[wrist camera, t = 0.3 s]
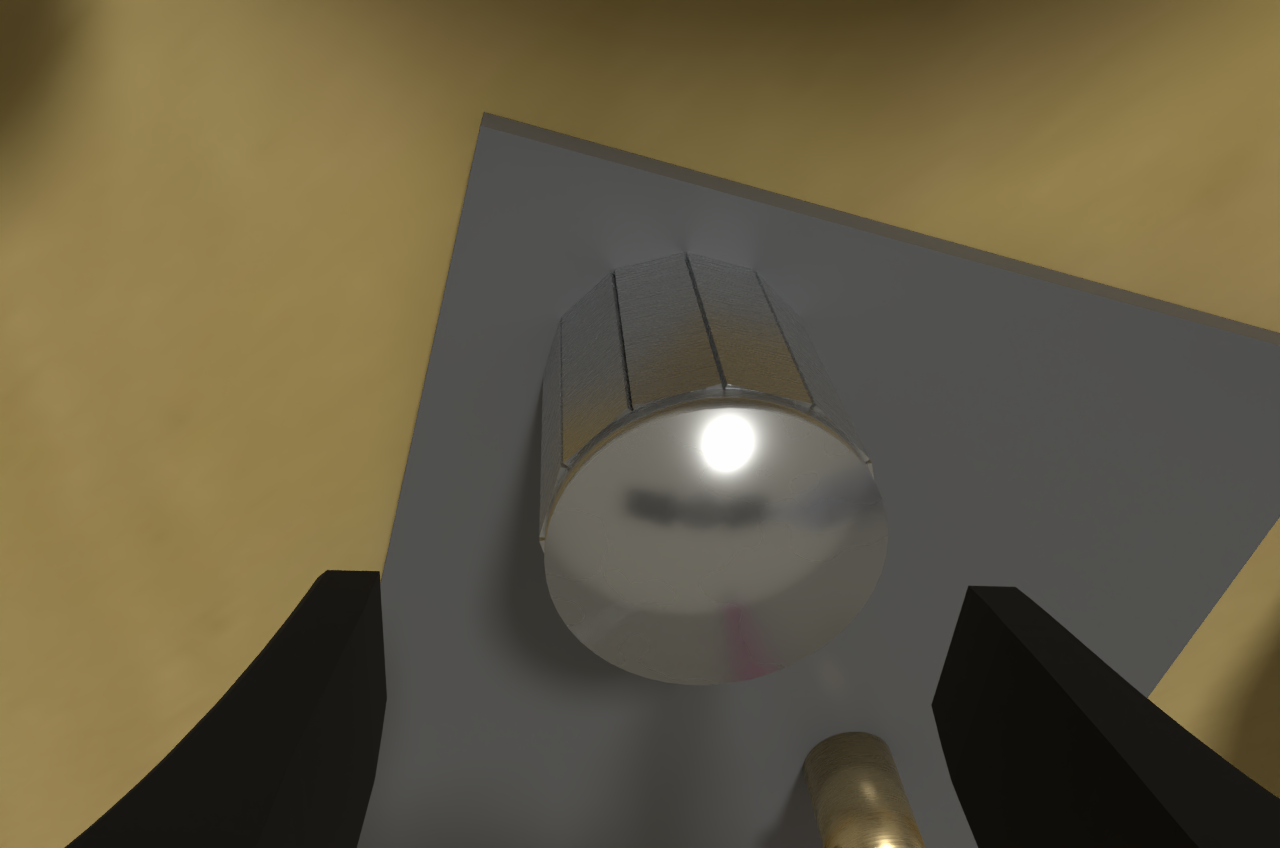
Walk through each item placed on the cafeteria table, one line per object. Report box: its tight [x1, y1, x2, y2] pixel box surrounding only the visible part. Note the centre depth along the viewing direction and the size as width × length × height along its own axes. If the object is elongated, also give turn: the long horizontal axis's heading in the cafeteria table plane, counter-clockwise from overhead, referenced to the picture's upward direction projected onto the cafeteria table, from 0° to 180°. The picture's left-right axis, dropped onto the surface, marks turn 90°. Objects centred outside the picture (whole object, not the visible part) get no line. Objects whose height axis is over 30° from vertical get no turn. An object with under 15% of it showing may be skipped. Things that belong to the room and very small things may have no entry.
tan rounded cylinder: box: [803, 732, 925, 848], centre depth 26 cm, size 3×2×4 cm
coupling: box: [539, 252, 888, 685], centre depth 19 cm, size 5×5×6 cm
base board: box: [357, 112, 1280, 848], centre depth 25 cm, size 20×20×1 cm
